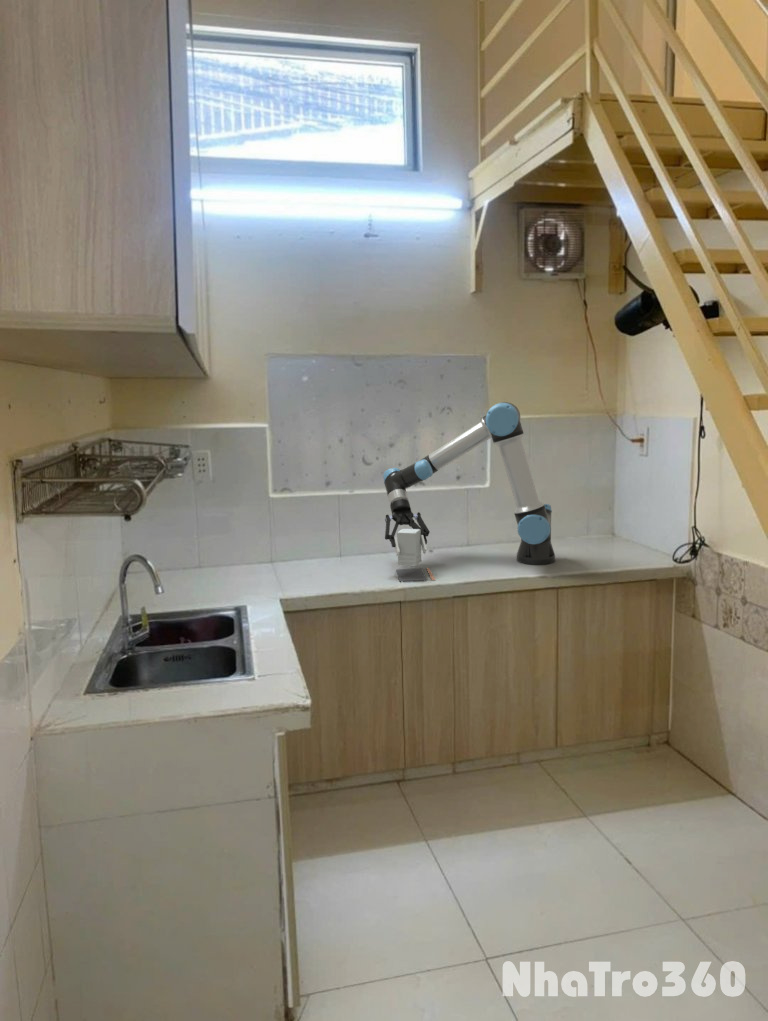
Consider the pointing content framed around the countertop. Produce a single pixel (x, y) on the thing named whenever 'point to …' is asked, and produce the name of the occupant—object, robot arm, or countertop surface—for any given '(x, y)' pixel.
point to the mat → (410, 574)
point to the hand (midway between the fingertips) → (411, 552)
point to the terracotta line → (430, 574)
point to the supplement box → (409, 547)
